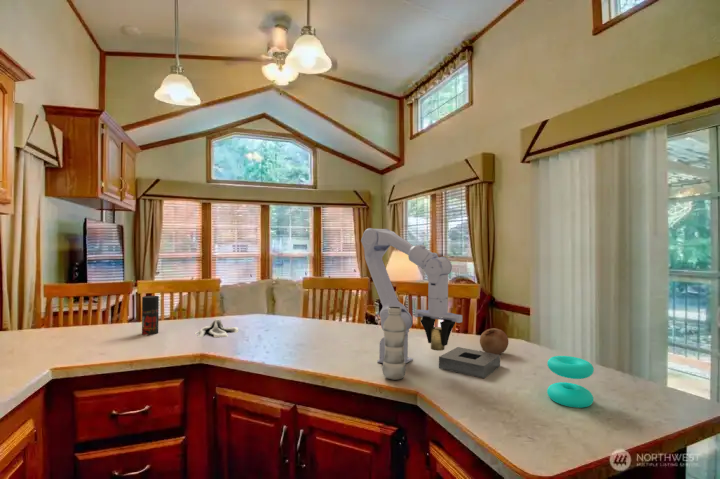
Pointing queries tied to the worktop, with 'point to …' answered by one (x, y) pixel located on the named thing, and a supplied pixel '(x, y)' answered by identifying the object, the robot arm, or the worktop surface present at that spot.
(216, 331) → the cloth
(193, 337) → the worktop surface
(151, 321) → the deodorant
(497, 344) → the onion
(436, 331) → the bushing
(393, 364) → the plastic bottle
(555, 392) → the donuts
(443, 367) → the block
